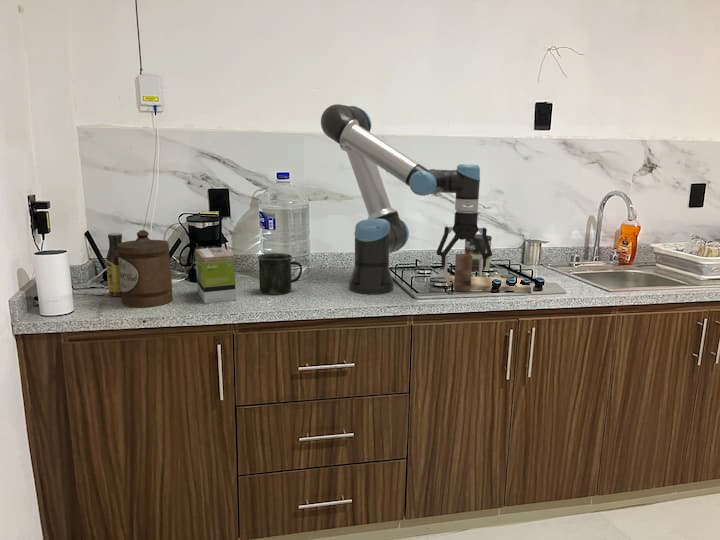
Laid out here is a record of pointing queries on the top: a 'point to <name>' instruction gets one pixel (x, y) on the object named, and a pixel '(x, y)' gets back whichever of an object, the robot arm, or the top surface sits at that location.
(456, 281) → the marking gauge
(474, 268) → the coffee can
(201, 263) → the tea box
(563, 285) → the top surface
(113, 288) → the sauce bottle
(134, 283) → the wooden container
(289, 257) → the mug
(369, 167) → the robot arm
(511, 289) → the birch board
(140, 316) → the top surface
